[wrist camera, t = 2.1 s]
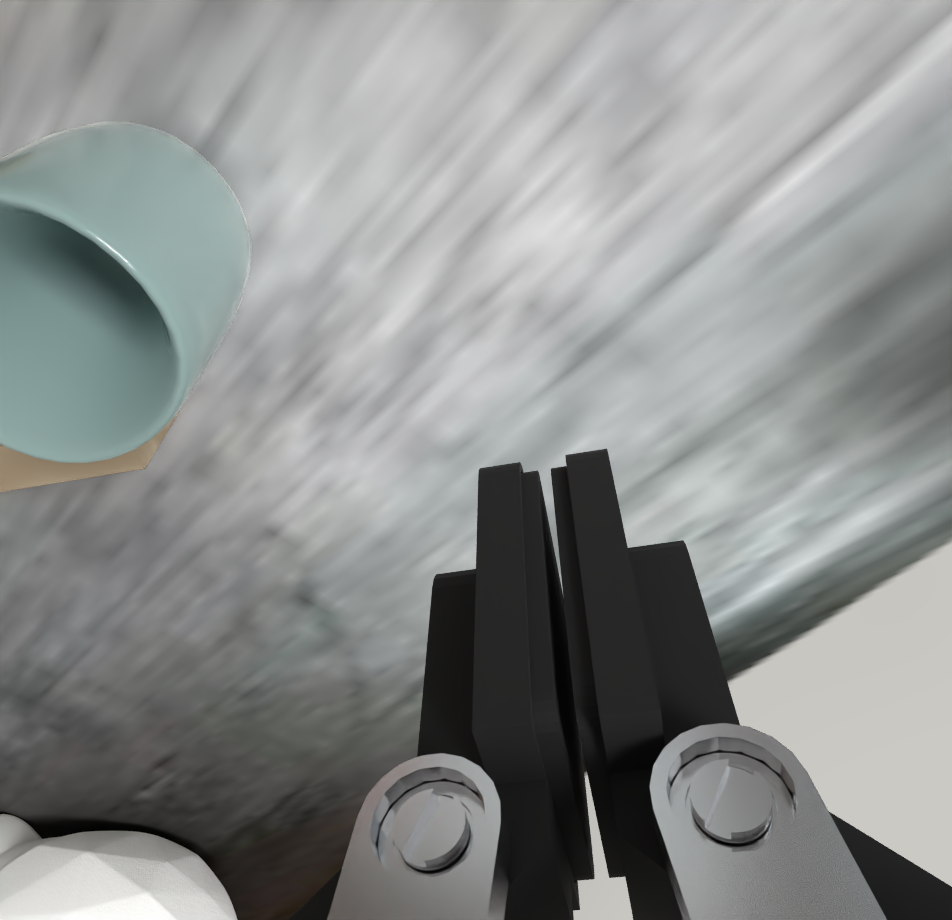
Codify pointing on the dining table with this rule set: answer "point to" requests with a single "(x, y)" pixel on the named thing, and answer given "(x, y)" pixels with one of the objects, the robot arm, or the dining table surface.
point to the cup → (110, 286)
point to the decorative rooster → (104, 877)
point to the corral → (70, 466)
